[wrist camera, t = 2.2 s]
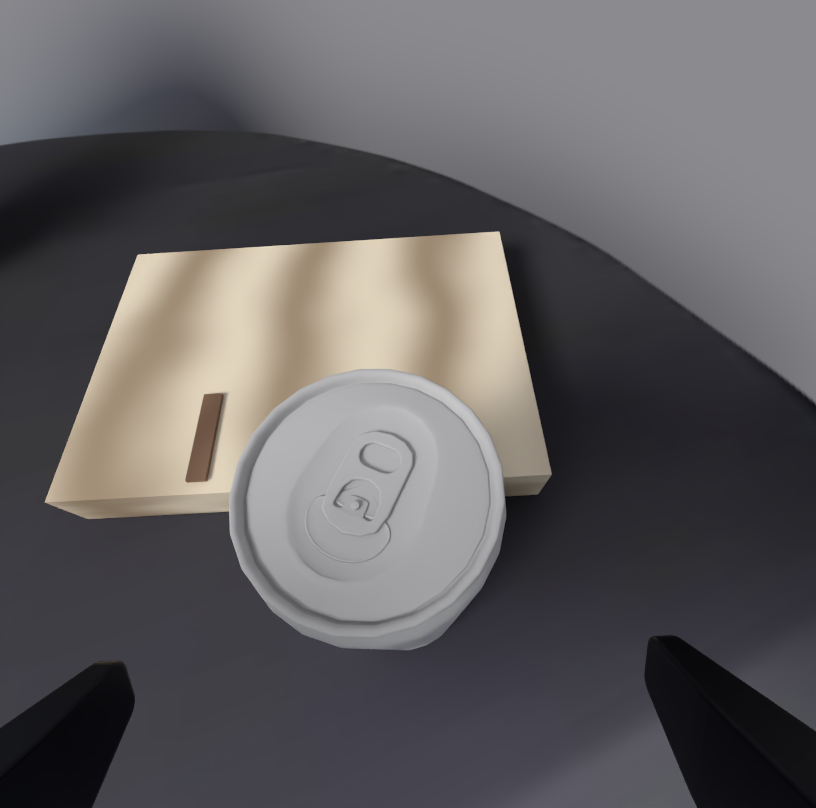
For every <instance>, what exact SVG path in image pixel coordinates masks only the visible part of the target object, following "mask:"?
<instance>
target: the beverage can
mask: <svg viewBox="0 0 816 808" xmlns="http://www.w3.org/2000/svg"><path fill="white" fill-rule="evenodd" d="M229 519H230V535H231V538H232V541H233V544H234V548H235V551H236V554H237V557H238V560H239V563H240V566H241V569H242V570H243V572H244V573H245V574H246V576H247V577H248V579H249V580H250V581H251V583H252V584H253V586H254V587H255V588H256V590H257V591H258V593H259V594H260V596H261V597H262V598H263V600H264V601H265V602H266V604H267V605H268V606H269V608H270V609H271V611H273V612H274V613H275V614H276V615H278V616H279V617H280V618H282V619H283V620H284V621H286V622H287V623H288V624H290V625H291V626H292V627H293V628H295V629H296V630H297V631H299V632H300V633H301V634H303V635H306V636H309V637H312V638H315V639H317V640H320V641H323V642H326V643H329V644H332V645H335V646H337V647H340V648H357V649H385V650H412V649H415V648H419V647H422V646H426V645H428V644H429V643H431V642H432V641H434V640H436V639H437V638H439V637H440V636H441V635H442V634H443V633H444V632H445V631H446V630H447V629H448V628H449V627H450V625H451V624H452V623H453V622H454V621H455V620H456V618H457V617H458V616H459V615H460V614H461V613H462V611H463V610H464V609H465V608H466V607H467V605H468V604H469V603H470V602H471V601H472V599H473V598H474V597H475V596H476V595H477V593H478V592H479V591H480V590H481V589H482V587H483V585H484V583H485V581H486V579H487V577H488V575H489V573H490V571H491V569H492V567H493V565H494V563H495V561H496V559H497V557H498V555H499V552H500V547H501V542H502V537H503V531H504V526H505V521H506V504H505V491H504V480H503V468H502V465H501V462H500V459H499V457H498V454H497V451H496V449H495V446H494V443H493V440H492V438H491V435H490V434H489V433H488V431H487V430H486V428H485V427H484V426H483V424H482V423H481V421H480V420H479V418H478V417H477V416H476V414H475V413H474V411H473V410H472V409H471V408H470V407H468V406H467V405H466V404H465V403H464V402H462V401H461V400H460V399H459V398H458V397H457V396H455V395H454V394H453V393H452V392H451V391H449V390H448V389H446V388H444V387H442V386H440V385H438V384H436V383H434V382H432V381H430V380H428V379H426V378H424V377H422V376H419V375H414V374H410V373H406V372H401V371H397V370H392V369H358V370H353V371H349V372H344V373H340V374H335V375H331V376H328V377H325V378H323V379H321V380H319V381H317V382H314V383H312V384H310V385H308V386H306V387H303V388H301V389H299V390H298V391H297V392H295V393H294V394H293V395H291V396H290V397H289V398H287V399H286V400H285V401H283V402H282V403H281V404H279V405H278V406H277V407H275V408H274V409H273V410H272V412H271V413H270V414H269V415H268V416H267V417H266V419H265V420H264V421H263V422H262V423H261V424H260V426H259V427H258V428H257V429H256V430H255V431H254V432H253V434H252V436H251V438H250V439H249V441H248V443H247V445H246V447H245V449H244V451H243V453H242V455H241V457H240V459H239V461H238V463H237V466H236V470H235V474H234V478H233V482H232V487H231V491H230V495H229Z"/></svg>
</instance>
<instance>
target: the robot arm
mask: <svg viewBox="0 0 816 808" xmlns="http://www.w3.org/2000/svg"><path fill="white" fill-rule="evenodd" d="M645 683H646V687H647V690H648V692H649V695H650V697H651V700H652V702H653V705H654V707H655V709H656V712H657V714H658V717H659V719H660V722H661V724H662V726H663V729H664V731H665V734H666V736H667V739H668V741H669V743H670V746H671V748H672V751H673V753H674V755H675V758H676V760H677V763H678V765H679V768H680V770H681V772H682V775H683V777H684V780H685V782H686V784H687V787H688V789H689V791H690V793H691V796H692V798H693V800H694V802H695V804H696V806H697V808H816V731H814V730H813V729H811V728H810V727H809V726H807V725H806V724H804V723H803V722H801V721H800V720H798V719H797V718H796V717H794V716H793V715H791V714H790V713H788V712H787V711H785V710H784V709H782V708H781V707H780V706H778V705H777V704H775V703H774V702H772V701H771V700H769V699H768V698H766V697H765V696H764V695H762V694H761V693H759V692H758V691H756V690H755V689H753V688H752V687H750V686H749V685H748V684H746V683H745V682H743V681H742V680H740V679H739V678H737V677H736V676H734V675H733V674H732V673H730V672H729V671H727V670H726V669H724V668H723V667H721V666H720V665H719V664H717V663H716V662H714V661H713V660H711V659H710V658H708V657H707V656H705V655H704V654H703V653H701V652H700V651H698V650H697V649H695V648H694V647H692V646H691V645H689V644H688V643H687V642H685V641H684V640H682V639H681V638H679V637H677V636H673V635H668V636H653V637H651V638H650V639H649V641H648V647H647V655H646V664H645ZM134 703H135V695H134V692H133V688H132V685H131V682H130V678H129V675H128V672H127V668H126V666H125V664H124V663H123V662H122V661H100V662H96V663H94V664H93V665H91V666H89V667H88V668H87V669H85V670H84V671H82V672H81V673H79V674H78V675H76V676H75V677H74V678H72V679H71V680H69V681H68V682H66V683H65V684H63V685H62V686H61V687H59V688H58V689H56V690H55V691H53V692H52V693H50V694H49V695H48V696H46V697H45V698H43V699H42V700H40V701H39V702H37V703H36V704H35V705H33V706H32V707H30V708H29V709H27V710H26V711H24V712H23V713H22V714H20V715H19V716H17V717H16V718H14V719H13V720H11V721H10V722H9V723H7V724H6V725H4V726H3V727H1V728H0V808H92V806H93V804H94V802H95V800H96V797H97V795H98V793H99V790H100V788H101V785H102V783H103V781H104V778H105V776H106V774H107V771H108V769H109V767H110V764H111V762H112V760H113V757H114V755H115V753H116V750H117V748H118V745H119V743H120V741H121V738H122V736H123V734H124V731H125V729H126V727H127V724H128V722H129V720H130V717H131V715H132V712H133V709H134Z"/></svg>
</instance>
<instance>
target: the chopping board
mask: <svg viewBox="0 0 816 808" xmlns="http://www.w3.org/2000/svg"><path fill="white" fill-rule="evenodd" d="M358 369H392V370H397V371H401V372H406V373H410V374H414V375H419V376H422V377H424V378H426V379H428V380H430V381H432V382H434V383H436V384H438V385H440V386H442V387H444V388H446V389H448V390H449V391H451V392H452V393H453V394H454V395H455V396H457V397H458V398H459V399H460V400H461V401H462V402H464V403H465V404H466V405H467V406H468V407H470V408H471V409H472V410H473V411H474V413H475V414H476V416H477V417H478V418H479V420H480V421H481V423H482V424H483V426H484V427H485V428H486V430H487V431H488V433H489V434H490V435H491V438H492V440H493V443H494V446H495V449H496V451H497V454H498V457H499V459H500V462H501V465H502V468H503V480H504V491H505V496H520V495H538V494H539V492H540V491H541V489H542V488H543V486H544V485H545V484H546V482H547V481H548V479H549V478H550V476H551V475H552V473H551V469H550V464H549V459H548V455H547V450H546V445H545V441H544V436H543V432H542V427H541V422H540V418H539V413H538V408H537V404H536V399H535V395H534V390H533V385H532V381H531V376H530V371H529V367H528V362H527V358H526V353H525V348H524V344H523V339H522V334H521V330H520V325H519V320H518V316H517V311H516V307H515V302H514V297H513V293H512V288H511V283H510V279H509V274H508V270H507V265H506V260H505V256H504V251H503V246H502V242H501V237H500V233H499V232H485V233H470V234H454V235H439V236H423V237H407V238H392V239H376V240H361V241H345V242H329V243H314V244H298V245H282V246H267V247H251V248H236V249H220V250H204V251H189V252H173V253H158V254H142V255H137V258H136V261H135V263H134V266H133V269H132V271H131V274H130V277H129V279H128V282H127V285H126V287H125V290H124V293H123V295H122V298H121V301H120V303H119V306H118V309H117V311H116V314H115V317H114V319H113V322H112V325H111V327H110V330H109V333H108V335H107V338H106V341H105V343H104V346H103V349H102V351H101V354H100V357H99V359H98V362H97V365H96V367H95V370H94V373H93V375H92V378H91V381H90V383H89V386H88V389H87V391H86V394H85V397H84V399H83V402H82V405H81V407H80V410H79V413H78V415H77V418H76V421H75V423H74V426H73V429H72V431H71V434H70V437H69V439H68V442H67V445H66V447H65V450H64V453H63V455H62V458H61V461H60V463H59V466H58V469H57V471H56V474H55V476H54V479H53V482H52V484H51V487H50V490H49V492H48V495H47V498H46V500H45V503H47V504H50V505H53V506H55V507H58V508H60V509H63V510H66V511H68V512H71V513H73V514H76V515H79V516H81V517H84V518H86V519H97V518H116V517H134V516H153V515H171V514H189V513H208V512H226V511H229V495H230V491H231V487H232V482H233V478H234V474H235V470H236V466H237V463H238V461H239V459H240V457H241V455H242V453H243V451H244V449H245V447H246V445H247V443H248V441H249V439H250V438H251V436H252V434H253V432H254V431H255V430H256V429H257V428H258V427H259V426H260V424H261V423H262V422H263V421H264V420H265V419H266V417H267V416H268V415H269V414H270V413H271V412H272V410H273V409H274V408H275V407H277V406H278V405H279V404H281V403H282V402H283V401H285V400H286V399H287V398H289V397H290V396H291V395H293V394H294V393H295V392H297V391H298V390H299V389H301V388H303V387H306V386H308V385H310V384H312V383H314V382H317V381H319V380H321V379H323V378H325V377H328V376H331V375H335V374H340V373H344V372H349V371H353V370H358Z"/></svg>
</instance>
